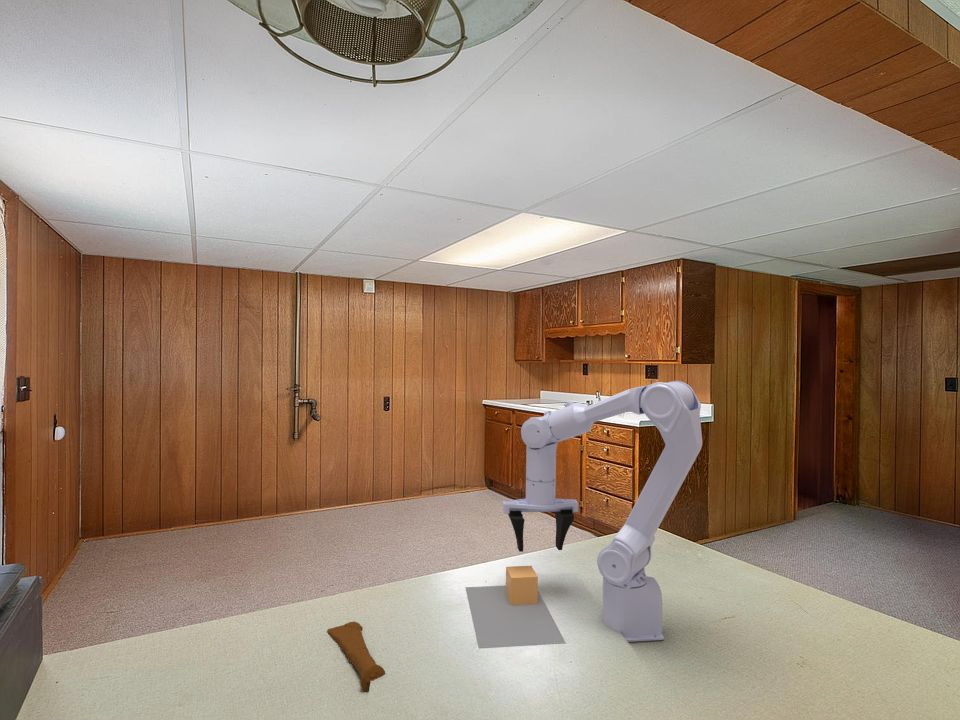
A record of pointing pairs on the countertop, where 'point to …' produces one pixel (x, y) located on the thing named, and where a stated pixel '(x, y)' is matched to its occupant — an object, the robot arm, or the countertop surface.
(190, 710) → the countertop surface
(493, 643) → the board
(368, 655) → the primitive tool
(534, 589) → the wooden cube
